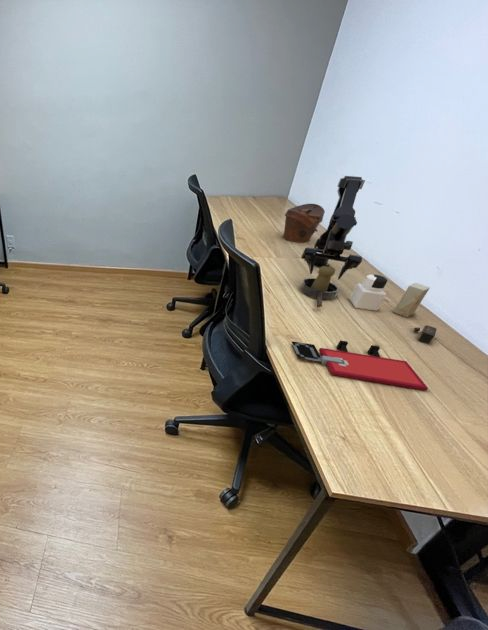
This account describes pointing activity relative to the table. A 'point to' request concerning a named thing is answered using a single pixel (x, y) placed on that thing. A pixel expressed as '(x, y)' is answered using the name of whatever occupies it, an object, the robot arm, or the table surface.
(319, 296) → the pan handle
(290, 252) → the table surface
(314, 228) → the case
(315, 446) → the table surface
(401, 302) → the box
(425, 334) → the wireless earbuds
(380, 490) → the table surface
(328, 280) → the cork
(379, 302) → the medicine bottle
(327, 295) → the pan
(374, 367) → the red board with handle
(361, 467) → the table surface
